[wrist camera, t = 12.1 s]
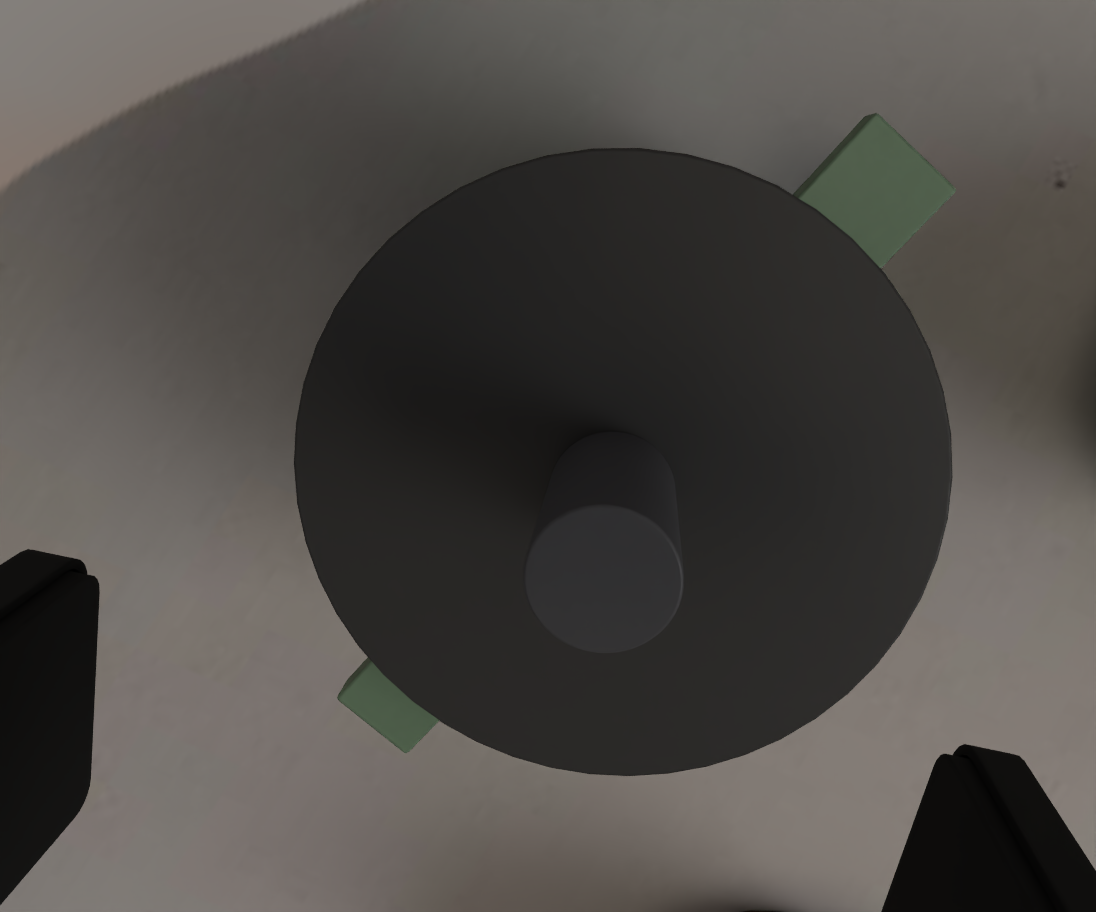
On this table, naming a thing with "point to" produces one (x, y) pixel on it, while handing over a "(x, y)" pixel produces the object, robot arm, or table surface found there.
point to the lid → (623, 461)
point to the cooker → (845, 199)
